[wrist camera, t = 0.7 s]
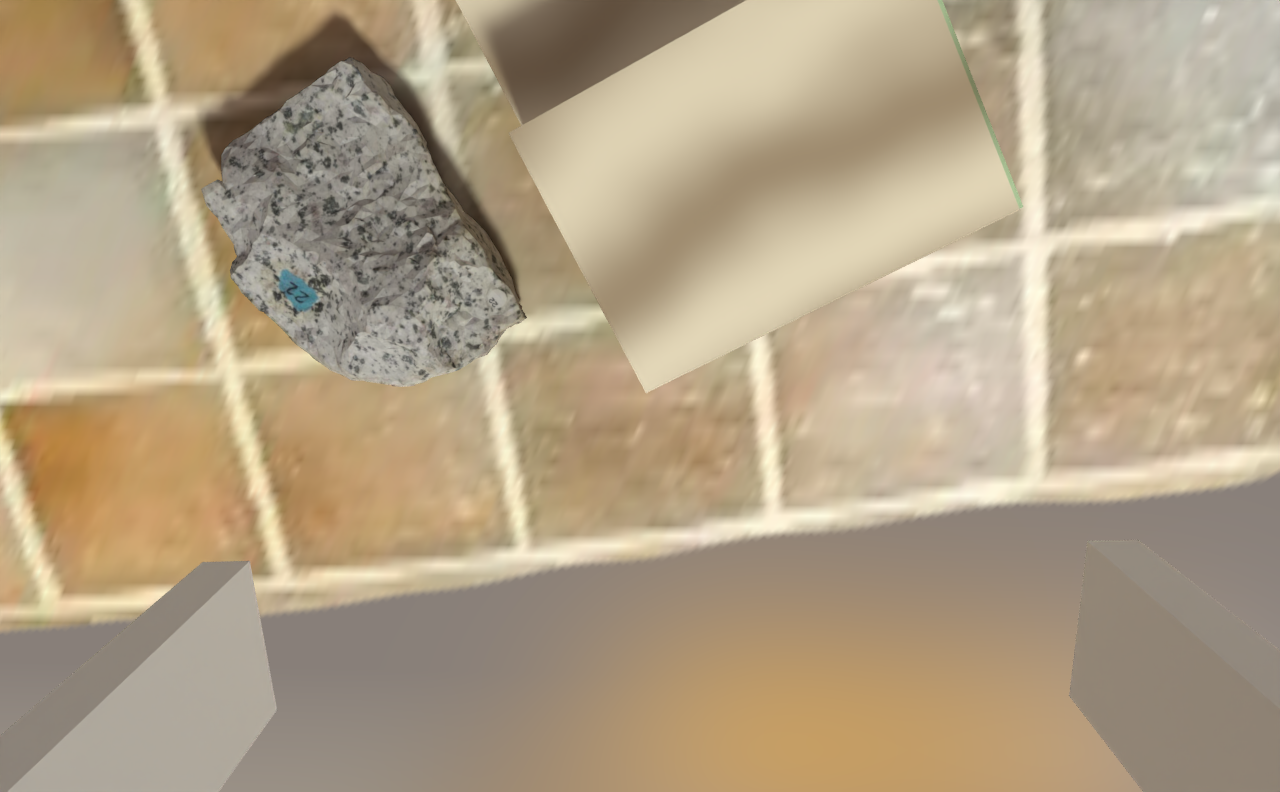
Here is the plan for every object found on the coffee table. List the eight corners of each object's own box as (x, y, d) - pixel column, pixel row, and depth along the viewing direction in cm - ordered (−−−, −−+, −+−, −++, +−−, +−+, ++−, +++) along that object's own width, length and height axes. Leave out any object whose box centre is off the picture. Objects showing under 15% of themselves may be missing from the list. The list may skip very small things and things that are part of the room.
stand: (473, 7, 34) (414, -44, 26) (791, -180, 31) (832, -298, 24) (650, 348, 37) (645, 393, 29) (948, 199, 35) (1028, 205, 27)
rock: (212, 170, 36) (137, 169, 31) (388, 52, 34) (338, 33, 29) (373, 414, 39) (327, 448, 34) (545, 317, 37) (522, 338, 32)
